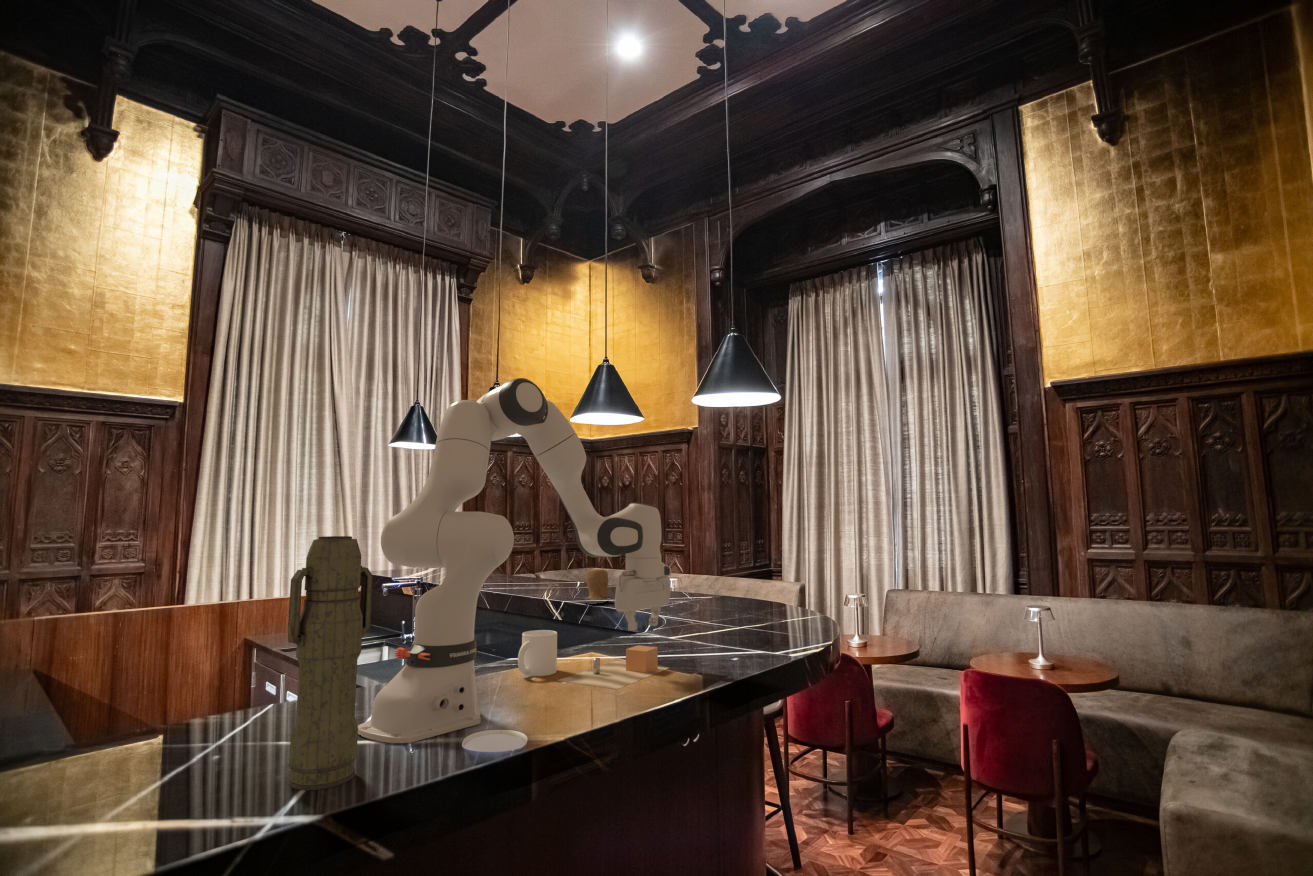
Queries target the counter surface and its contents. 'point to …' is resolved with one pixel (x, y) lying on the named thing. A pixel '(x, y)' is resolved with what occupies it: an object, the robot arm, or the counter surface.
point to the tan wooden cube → (641, 659)
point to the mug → (538, 653)
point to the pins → (596, 665)
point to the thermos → (327, 661)
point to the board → (610, 676)
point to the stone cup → (597, 584)
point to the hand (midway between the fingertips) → (643, 627)
